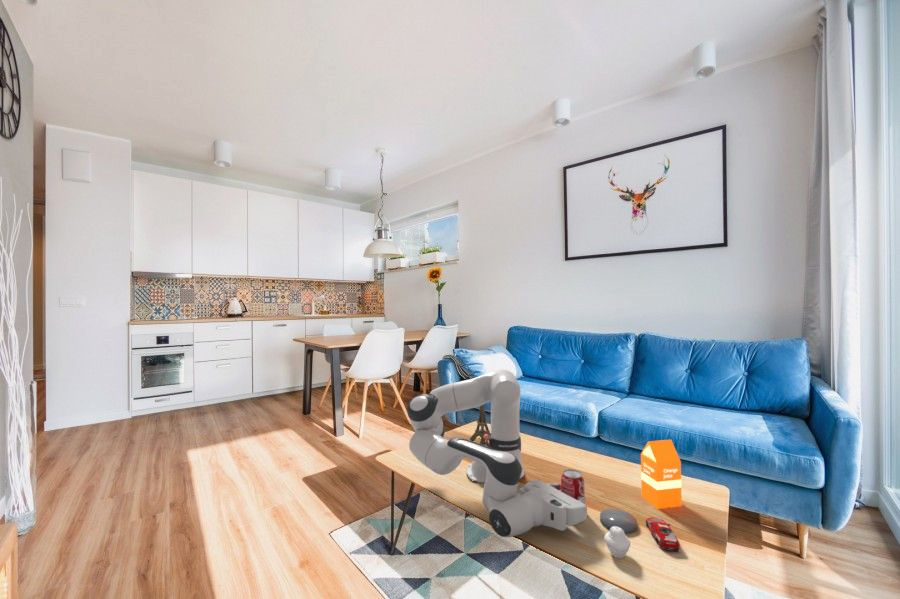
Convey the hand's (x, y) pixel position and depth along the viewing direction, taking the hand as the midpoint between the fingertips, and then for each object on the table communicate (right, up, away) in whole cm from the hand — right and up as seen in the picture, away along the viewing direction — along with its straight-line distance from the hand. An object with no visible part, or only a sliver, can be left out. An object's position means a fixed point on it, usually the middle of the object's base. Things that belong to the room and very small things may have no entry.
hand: (571, 492), depth 116 cm
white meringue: (+6, -6, -19) cm, 21 cm away
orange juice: (+32, -6, +6) cm, 33 cm away
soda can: (+1, -7, +1) cm, 7 cm away
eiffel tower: (-22, -8, +60) cm, 64 cm away
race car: (+21, -7, -12) cm, 26 cm away
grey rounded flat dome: (+12, -6, -6) cm, 15 cm away
